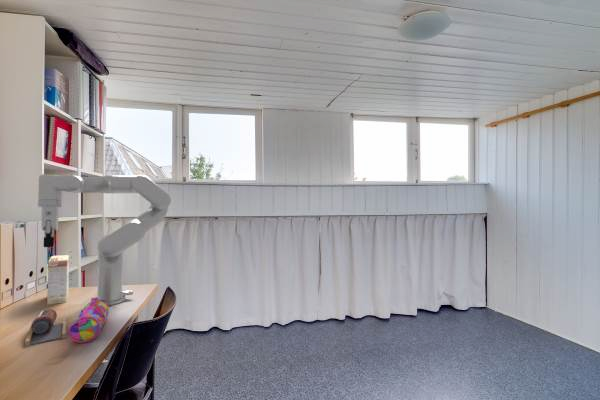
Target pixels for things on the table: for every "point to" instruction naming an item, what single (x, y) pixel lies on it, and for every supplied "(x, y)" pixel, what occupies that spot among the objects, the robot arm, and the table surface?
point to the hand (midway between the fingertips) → (48, 246)
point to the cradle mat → (47, 334)
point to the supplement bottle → (44, 321)
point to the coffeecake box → (58, 279)
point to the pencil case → (89, 321)
